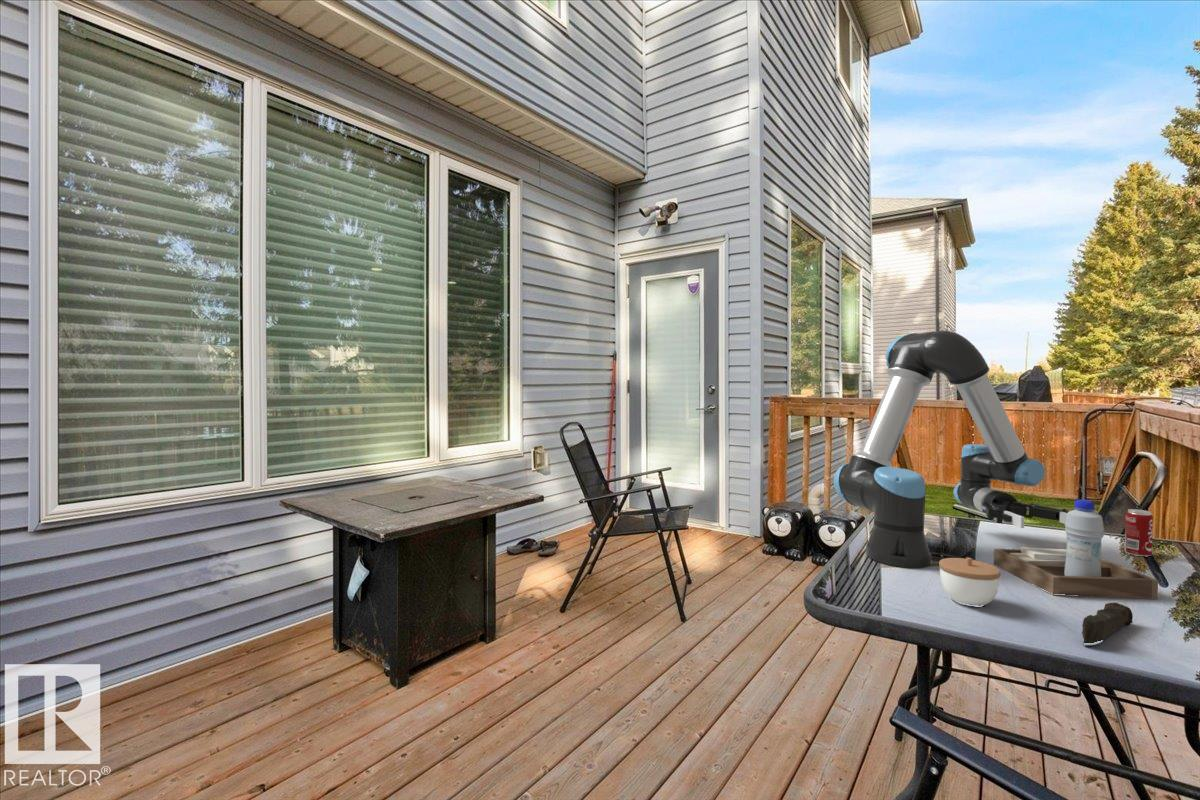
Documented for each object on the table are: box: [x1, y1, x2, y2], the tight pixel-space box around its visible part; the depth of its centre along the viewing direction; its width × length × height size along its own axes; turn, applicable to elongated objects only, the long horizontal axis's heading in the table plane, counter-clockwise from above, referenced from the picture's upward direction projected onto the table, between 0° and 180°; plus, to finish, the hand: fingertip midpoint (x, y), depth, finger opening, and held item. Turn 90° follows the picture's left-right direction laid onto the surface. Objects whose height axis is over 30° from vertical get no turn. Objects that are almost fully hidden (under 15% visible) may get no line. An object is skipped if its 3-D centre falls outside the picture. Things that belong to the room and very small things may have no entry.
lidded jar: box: [938, 557, 1001, 606], centre depth 115 cm, size 11×11×9 cm
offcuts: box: [1010, 546, 1066, 565], centre depth 132 cm, size 7×17×4 cm, turn 85°
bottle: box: [1064, 498, 1105, 577], centre depth 123 cm, size 7×7×20 cm
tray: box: [993, 548, 1159, 599], centre depth 127 cm, size 20×21×4 cm
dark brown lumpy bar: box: [1081, 602, 1134, 644], centre depth 101 cm, size 19×4×5 cm, turn 120°
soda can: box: [1124, 508, 1154, 557], centre depth 146 cm, size 5×5×12 cm
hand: (1052, 523), depth 133 cm, fingers open, 13 cm apart
